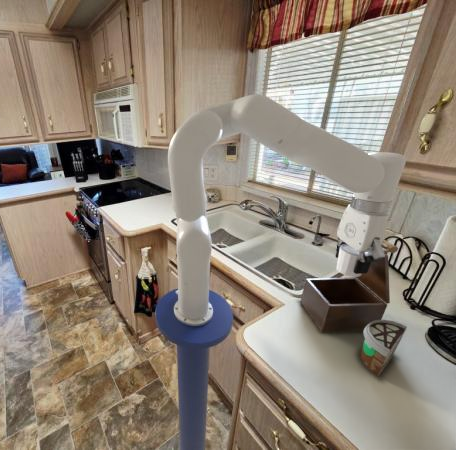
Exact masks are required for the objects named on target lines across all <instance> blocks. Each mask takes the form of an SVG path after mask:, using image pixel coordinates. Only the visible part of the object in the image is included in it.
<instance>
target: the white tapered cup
mask: <svg viewBox="0 0 456 450" xmlns="http://www.w3.org/2000/svg"><path fill="white" fill-rule="evenodd" d="M366 256H368V252H365V257H366ZM357 260H360V255H359V252H358V251H356V250H355V249H353V248H352V247H350V246H349V245H348V244H342V245H340V249H339V255H338V258H337V262H336V271H337V272H338V273H340V274H341V275H344V276H345V277H346V276H347V277H359V276H360V275H361V274H355V273H354V268H355V265H356V262H357Z"/></svg>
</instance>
